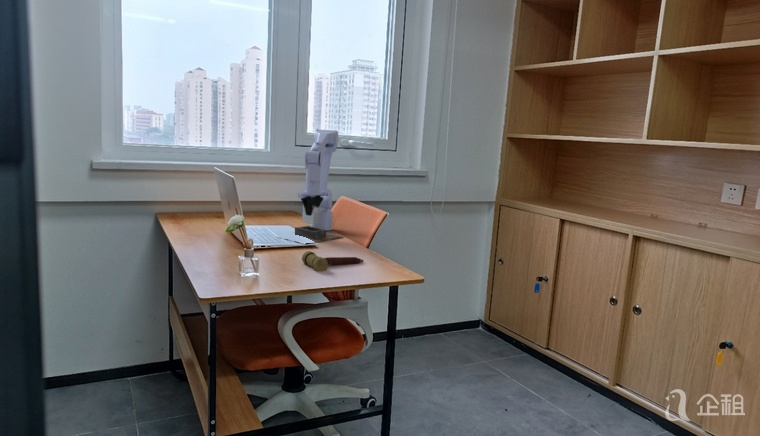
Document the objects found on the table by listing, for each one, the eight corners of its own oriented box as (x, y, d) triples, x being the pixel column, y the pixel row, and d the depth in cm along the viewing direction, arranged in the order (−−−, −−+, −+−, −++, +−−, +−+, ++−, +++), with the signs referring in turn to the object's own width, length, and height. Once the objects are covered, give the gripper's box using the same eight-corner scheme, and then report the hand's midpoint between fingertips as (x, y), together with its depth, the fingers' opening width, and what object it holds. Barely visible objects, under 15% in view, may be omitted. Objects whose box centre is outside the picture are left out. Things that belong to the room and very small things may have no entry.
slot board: (315, 231, 234) (315, 222, 233) (343, 237, 224) (343, 229, 224) (276, 237, 216) (276, 228, 216) (304, 244, 207) (305, 235, 206)
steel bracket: (307, 221, 222) (308, 204, 221) (321, 224, 218) (321, 207, 217) (302, 221, 220) (302, 204, 219) (316, 224, 216) (316, 207, 215)
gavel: (356, 250, 191) (371, 257, 183) (355, 263, 191) (370, 270, 183) (302, 251, 179) (316, 258, 171) (301, 264, 180) (314, 272, 172)
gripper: (317, 179, 225) (315, 211, 227) (292, 180, 213) (291, 214, 215) (330, 181, 221) (328, 214, 223) (306, 182, 209) (304, 217, 211)
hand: (311, 214), depth 219 cm, fingers closed on steel bracket, 3 cm apart
